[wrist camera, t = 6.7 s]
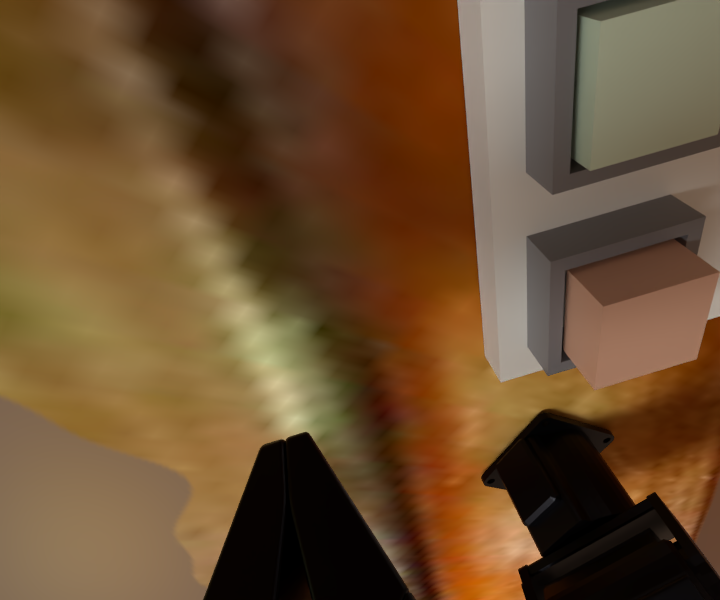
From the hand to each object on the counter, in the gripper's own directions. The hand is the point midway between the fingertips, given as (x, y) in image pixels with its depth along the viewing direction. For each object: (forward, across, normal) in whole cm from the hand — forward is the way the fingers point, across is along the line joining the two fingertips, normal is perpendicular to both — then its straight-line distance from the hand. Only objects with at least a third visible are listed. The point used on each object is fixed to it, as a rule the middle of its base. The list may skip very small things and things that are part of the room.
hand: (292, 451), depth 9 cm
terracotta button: (+9, -13, +8) cm, 18 cm away
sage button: (+11, -13, -1) cm, 17 cm away
